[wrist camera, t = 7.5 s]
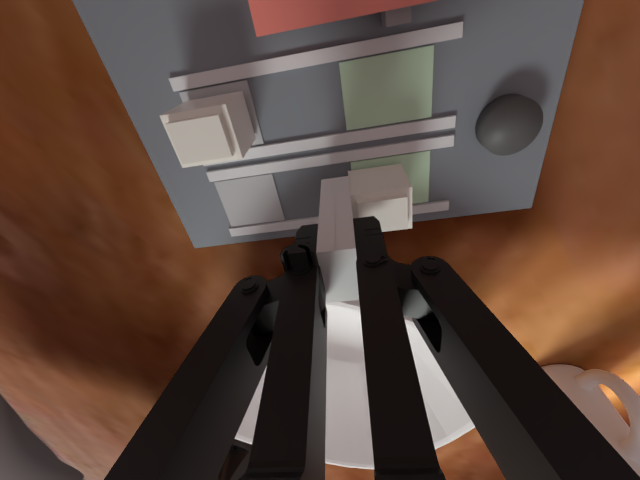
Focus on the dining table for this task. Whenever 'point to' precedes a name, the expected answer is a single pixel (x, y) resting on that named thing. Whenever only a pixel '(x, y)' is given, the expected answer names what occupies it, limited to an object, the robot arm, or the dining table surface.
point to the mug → (603, 406)
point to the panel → (344, 103)
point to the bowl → (352, 397)
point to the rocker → (314, 12)
